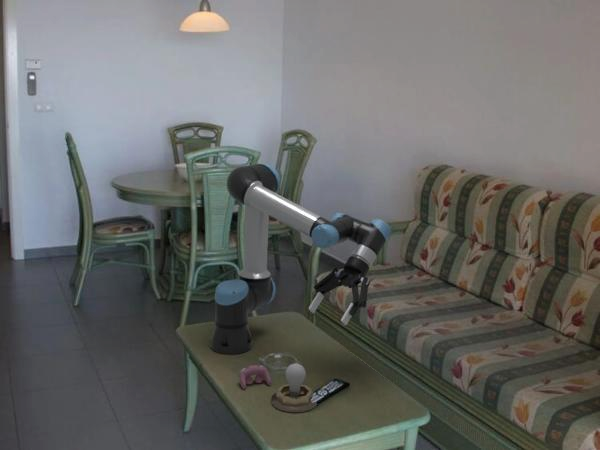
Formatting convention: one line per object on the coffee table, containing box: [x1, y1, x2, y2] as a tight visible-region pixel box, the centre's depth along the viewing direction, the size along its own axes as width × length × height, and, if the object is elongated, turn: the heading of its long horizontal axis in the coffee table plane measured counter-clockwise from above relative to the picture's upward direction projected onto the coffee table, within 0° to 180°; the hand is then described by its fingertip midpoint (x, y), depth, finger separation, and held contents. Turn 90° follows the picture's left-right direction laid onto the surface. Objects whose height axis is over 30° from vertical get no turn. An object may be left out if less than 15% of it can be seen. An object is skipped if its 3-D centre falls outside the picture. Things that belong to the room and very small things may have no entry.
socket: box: [270, 383, 318, 414], centre depth 208 cm, size 14×14×4 cm
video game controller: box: [238, 364, 272, 390], centre depth 219 cm, size 10×5×7 cm, turn 112°
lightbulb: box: [284, 362, 307, 398], centre depth 207 cm, size 6×6×11 cm
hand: (326, 316), depth 216 cm, fingers open, 13 cm apart
